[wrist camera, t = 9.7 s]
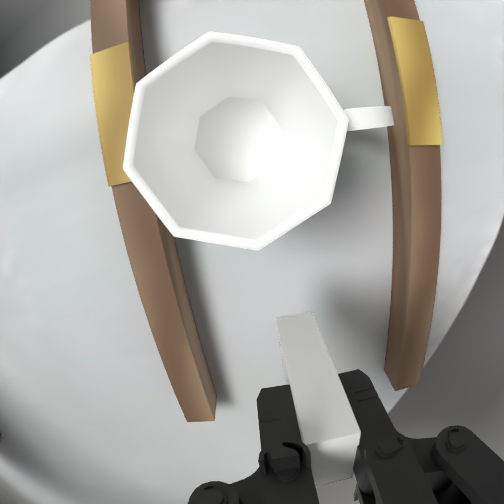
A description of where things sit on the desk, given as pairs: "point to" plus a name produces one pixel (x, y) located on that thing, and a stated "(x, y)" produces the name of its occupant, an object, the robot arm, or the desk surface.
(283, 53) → the cup
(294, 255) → the desk surface
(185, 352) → the channel
